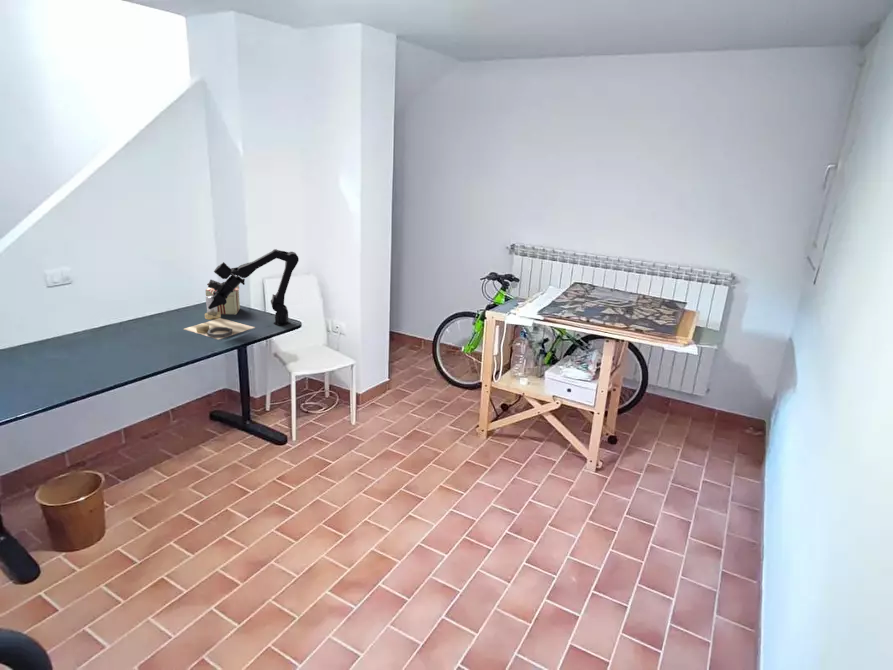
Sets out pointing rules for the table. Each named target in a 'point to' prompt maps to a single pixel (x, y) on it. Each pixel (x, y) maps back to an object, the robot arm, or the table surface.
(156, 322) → the table surface
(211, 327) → the board
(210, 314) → the silver round piece
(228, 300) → the gift box
